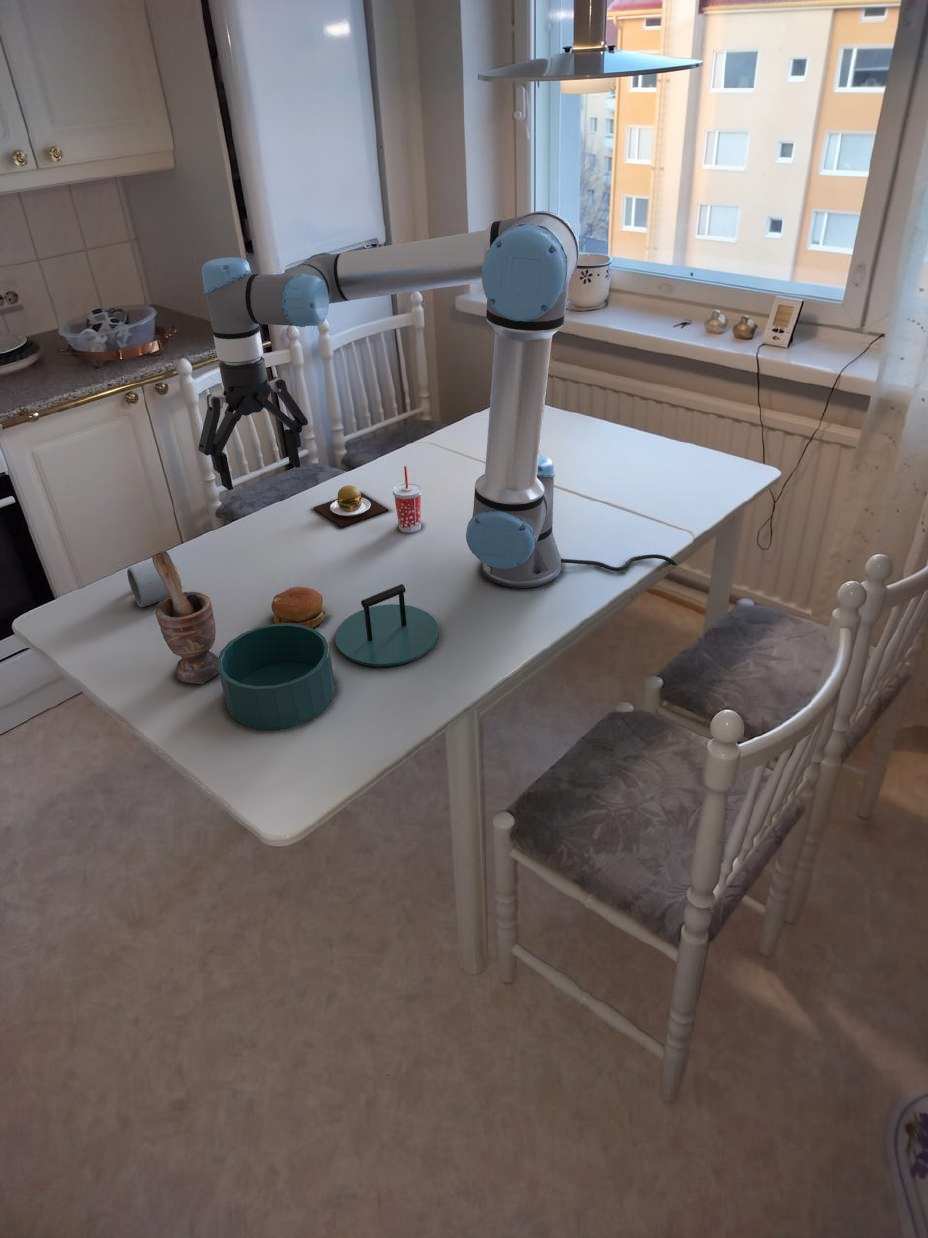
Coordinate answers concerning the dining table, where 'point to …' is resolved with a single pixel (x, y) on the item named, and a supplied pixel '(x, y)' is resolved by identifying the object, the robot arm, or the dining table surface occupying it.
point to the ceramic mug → (148, 584)
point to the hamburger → (350, 507)
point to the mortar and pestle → (186, 625)
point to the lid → (387, 631)
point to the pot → (276, 676)
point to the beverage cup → (408, 505)
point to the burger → (298, 607)
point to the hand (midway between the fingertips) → (262, 476)
